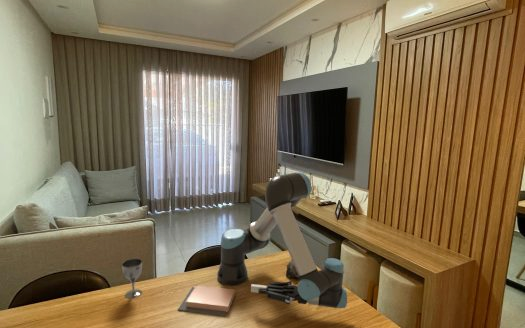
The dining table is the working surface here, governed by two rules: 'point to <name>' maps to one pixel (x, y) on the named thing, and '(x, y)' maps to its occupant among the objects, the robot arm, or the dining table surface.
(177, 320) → the dining table surface
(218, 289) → the tile
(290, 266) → the fossil
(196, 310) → the mat
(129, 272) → the wine glass
